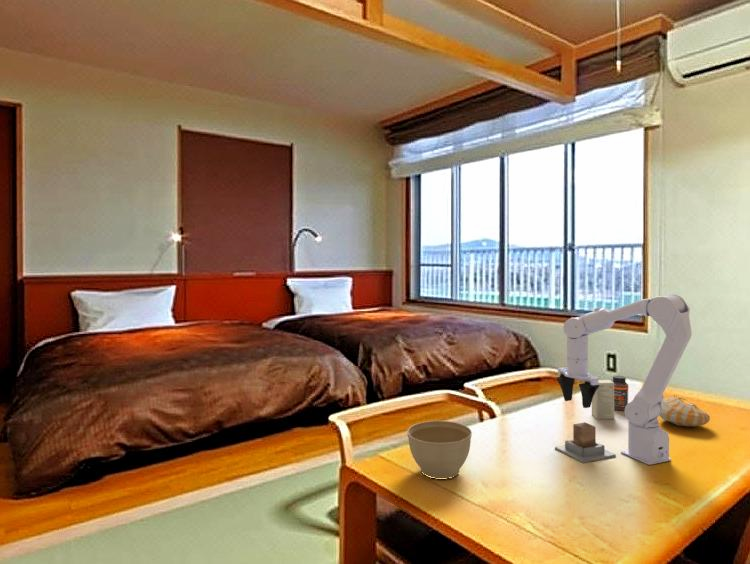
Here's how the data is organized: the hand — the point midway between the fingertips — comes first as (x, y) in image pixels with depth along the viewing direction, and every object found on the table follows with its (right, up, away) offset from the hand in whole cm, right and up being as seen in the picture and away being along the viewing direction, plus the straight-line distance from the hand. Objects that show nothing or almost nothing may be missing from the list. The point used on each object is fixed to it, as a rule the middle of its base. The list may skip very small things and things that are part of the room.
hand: (577, 403), depth 154 cm
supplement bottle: (+26, -9, +29) cm, 40 cm away
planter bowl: (-43, -13, -21) cm, 50 cm away
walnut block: (-2, -11, -10) cm, 15 cm away
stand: (-2, -11, -10) cm, 15 cm away
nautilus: (+39, -9, +13) cm, 42 cm away
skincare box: (+16, -9, +20) cm, 27 cm away
